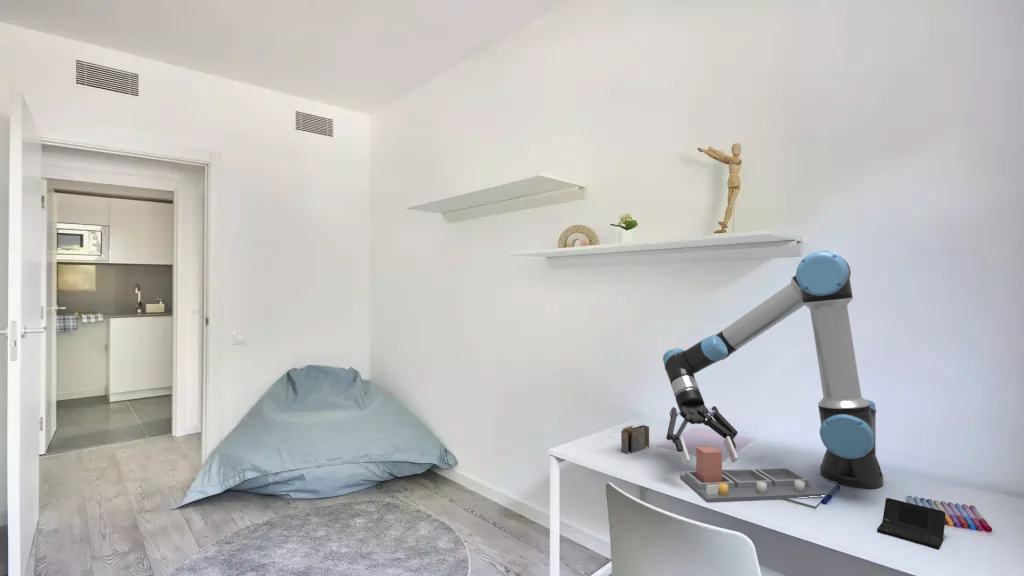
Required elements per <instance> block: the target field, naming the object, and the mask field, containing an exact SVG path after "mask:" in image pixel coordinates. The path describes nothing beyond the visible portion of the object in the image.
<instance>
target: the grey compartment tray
mask: <svg viewBox="0 0 1024 576" xmlns="http://www.w3.org/2000/svg"><path fill="white" fill-rule="evenodd" d="M679 477H680V480H682V481H683V482H684V483H685V484H686V485H688V486H689V488H690V489H692V490H693V491H694V492H695V493H696V494H698V496H699V497H701V498H702V499H703V500H704V501H706V503H724V502H725V503H726V502H747V501H748V502H750V501H752V502H753V501H768V500H769V501H772V500H773V501H774V500H788V499H787V498H798V497H809V496H821V495H826V496H827V493H826V492H824V491H822V490H821V489H819V488H817V487H816V486H814V485H812V484H811V483H810V479H808V478H806V477H804V476H803V475H802V474H800V473H797V472H796V471H794V470H792V469H791V468H789V467H765V468H755V469H753V468H742V469H741V468H739V469H737V468H735V469H722V482H710V483H701V482H700V481H699V480H698V479H697V478H696V470H689V471H688V470H686V471H684V473H682V474H680V475H679Z"/></svg>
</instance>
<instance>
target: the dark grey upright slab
mask: <svg viewBox="0 0 1024 576" xmlns="http://www.w3.org/2000/svg"><path fill="white" fill-rule="evenodd" d="M620 436H621V437H620V438H621V441H620V442H621V445H620V446H621V452H620V453H623V454H625V455H629V451H630V453H631V454H633V453H636V452H639V451H643V450H646V449H649V448H650V426H649V425H645V424H640V425H638V426H634V425H629V426H626V427H623V428H622V430H621V435H620ZM647 447H648V448H647Z"/></svg>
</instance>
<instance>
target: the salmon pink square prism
mask: <svg viewBox="0 0 1024 576" xmlns="http://www.w3.org/2000/svg"><path fill="white" fill-rule="evenodd" d="M695 455H696V456H695V458H696V459H695V461H696V462H695V463H696V464H695V465H696V467H695V471H696V478H697V479H698V480H699V481H700V482H701V483H710V482H722V470H723V452H722V451H721V450H720V449H718V448H716V447H714V446H696V447H695Z"/></svg>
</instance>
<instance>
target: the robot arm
mask: <svg viewBox="0 0 1024 576" xmlns="http://www.w3.org/2000/svg"><path fill="white" fill-rule="evenodd" d="M850 279H851V267H850V265H849V264H848V262H847V261H846V259H844V258H843V257H842V256H841V255H839V254H838V253H836V252H834V251H832V250H831V251H830V250H818V251H815V252H811V253H808V255H805V256H804V257H803V258H802V259H801V260H800V262H799V263H798V266H797V267H796V272H795V275H794V276H793V277H792V276H791V279H790V283H788V284H787V285H786V286H784V287H783V288H781V289H780V290H778V291H777V292H776V293H774V294H773V295H771V296H770V297H769V298H767V299H765V300H764V301H763V302H761V303H760V304H758V305H757V306H756V307H754V308H752V309H751V310H750V311H749V312H747V313H745V314H744V315H742V316H741V317H740V318H738V319H737V320H735V321H734V322H732V323H731V324H730V325H728V326H726V327H725V328H724V329H722V330H721V331H720V332H718V333H716V334H712V335H710V336H708V337H705V338H703V339H702V340H700V341H699V342H697V343H695V344H694V345H692V346H690V347H689V348H687V349H685V350H684V349H683V348H679V347H675V348H673V349H668V350H666V351H665V353H664V354H663V356H662V362H663V366H664V370H665V372H666V374H667V376H668V380H669V382H670V386H671V389H672V392H673V397H675V401H676V405H677V407H678V408H676V407H674V406H672V407H671V409H670V411H669V418H670V419H669V424H668V428H667V433H666V438H665V439H666V440H667V441H672V443H673V444H674V445H675V448H676V451H677V452H678V453H680V454H681V457H682V461H683V464H684V465H688V463H690V461H691V458H690V455H689V452H688V449H687V447H686V446H687V445H686V443H685V440H684V437H681V435H682V434H683V433H684V430H685V428H686V427H687V425H688V423H689V424H691V425H695V424H697V425H702V424H704V425H705V426H707V427H709V428H710V429H711V430H713V432H715V433H717V434H718V435H719V436H721V437H722V438H723V439H724V440H723V443H724V446H725V449H726V451H727V453H728V456H729V459H730V461H731V463H733V464H735V463H736V461H738V459H739V455H738V454H737V451H736V448H737V445H736V443H735V440H734V439H735V438H736V437H737V435H738V433H739V432H738V430H736V429H735V427H734V426H733V425H732V424H731V423H730V422H729V421H728V420H727V419H726V418H725V417H724V415H722V414H721V413H720V412H719V411H720V410H718V407H717V406H715V405H713V406H712V407H710V408H707V407H706V406H705V405H706V404H705V401H704V398H703V396H702V393H701V391H700V388H699V386H698V383H697V380H696V378H695V374H696V373H698V372H700V371H702V370H704V369H706V368H708V367H709V366H711V365H712V366H713V364H717V362H720V361H724V360H725V359H727V358H729V356H730V355H732V354H733V353H735V352H736V351H738V350H739V349H740V348H742V347H744V346H745V345H747V344H748V343H750V342H751V341H753V340H755V339H756V338H757V337H758V336H761V334H764V333H765V332H766V331H768V330H770V329H771V328H772V327H774V326H775V325H777V324H779V323H781V322H782V321H783V320H784V319H786V318H788V317H789V316H791V315H792V314H793V313H796V312H797V311H798V310H800V309H802V308H803V307H804V306H805V307H806V308H808V309H809V310H810V311H809V312H810V318H811V324H812V330H813V331H812V332H813V335H814V336H813V338H814V345H815V350H816V357H817V362H818V370H819V376H820V377H819V378H820V382H821V390H822V397H823V398H822V399H820V401H819V402H818V403H817V407H818V412H819V413H818V414H819V419H820V420H819V421H820V427H819V436H820V439H821V442H822V444H823V445H824V447H825V449H826V451H825V453H824V456H823V459H822V462H821V463H820V466H819V474H821V475H820V476H821V477H822V476H823V477H824V479H825V478H826V480H827V479H828V480H827V481H829V480H831V481H834V482H837V483H838V485H840V486H841V485H842V486H846V487H851V488H858V489H878V488H882V487H883V485H884V475H883V472H882V469H881V466H880V462H879V461H878V457H877V455H876V454H877V453H876V452H877V451H876V450H877V448H876V444H877V443H876V442H877V441H876V439H877V438H876V434H877V433H876V431H877V430H876V429H877V428H876V421H877V420H876V418H877V417H876V414H877V409H876V404H875V402H874V401H872V400H869V399H865V398H864V397H863V396H862V392H861V386H860V380H859V375H858V373H859V372H858V367H857V360H856V354H855V353H856V352H855V348H854V347H855V346H854V341H853V335H852V330H851V323H850V316H849V309H848V305H849V304H850V303H851V302H852V300H853V299H854V297H853V291H852V284H851V280H850ZM678 416H680V417H682V418H683V421H682V423H681V424H680V426H679V428H678V430H677V432H676V433H675V434H674V432H675V427H676V421H677V417H678ZM706 419H707V420H706ZM823 477H822V478H823ZM831 481H830V482H831ZM834 482H833V483H834ZM837 483H836V484H837Z"/></svg>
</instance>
